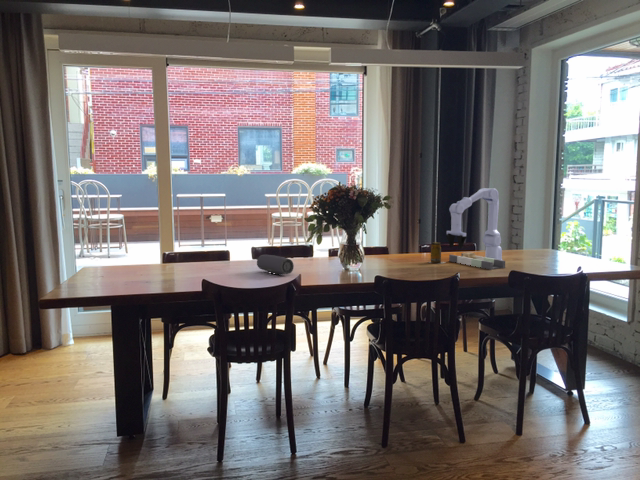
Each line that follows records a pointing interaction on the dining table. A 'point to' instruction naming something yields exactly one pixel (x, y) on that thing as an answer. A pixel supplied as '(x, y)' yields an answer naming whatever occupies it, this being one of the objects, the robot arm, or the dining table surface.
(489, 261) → the trap box
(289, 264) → the bluetooth speaker
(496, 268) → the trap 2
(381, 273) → the dining table surface
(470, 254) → the maple block
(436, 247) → the condiment
